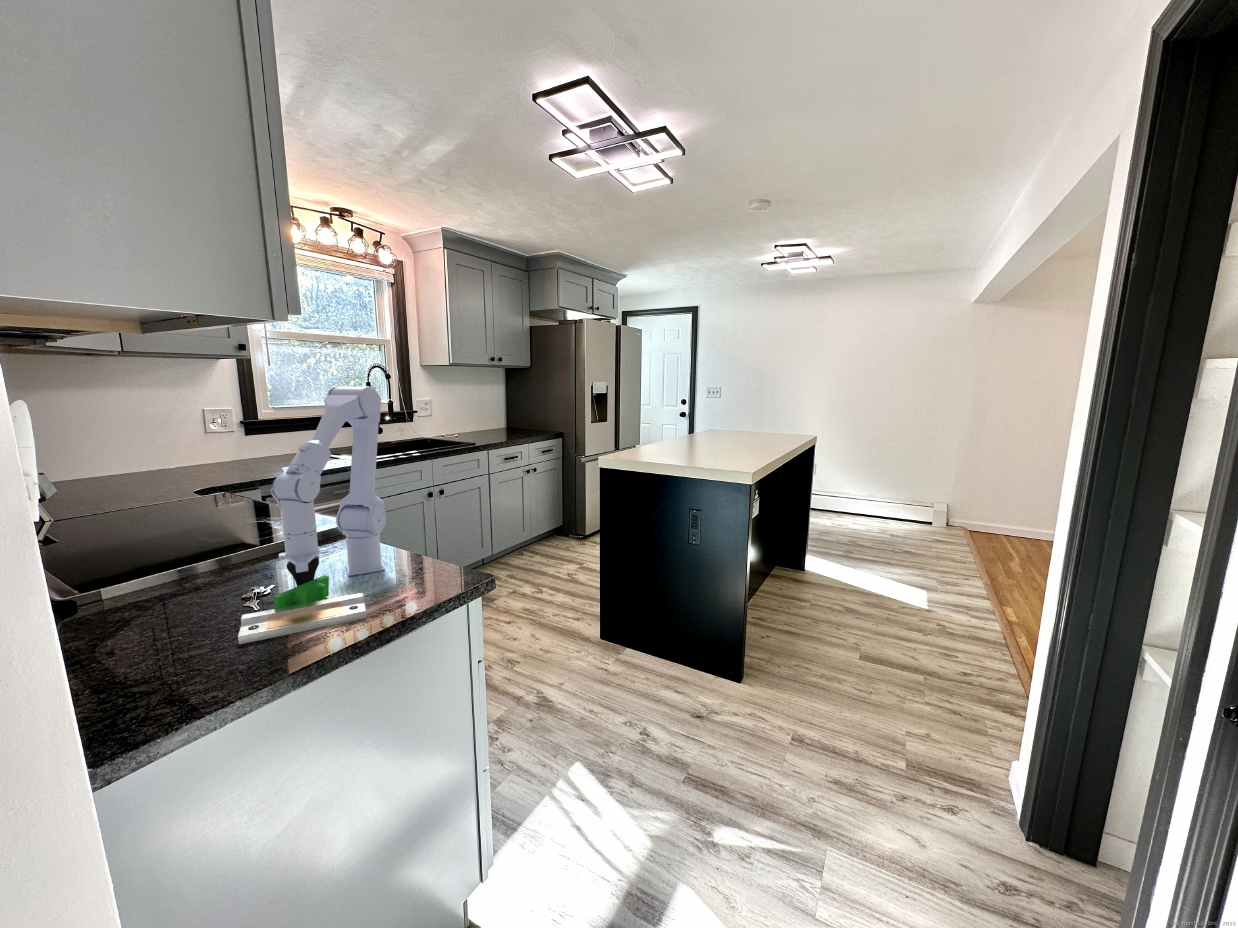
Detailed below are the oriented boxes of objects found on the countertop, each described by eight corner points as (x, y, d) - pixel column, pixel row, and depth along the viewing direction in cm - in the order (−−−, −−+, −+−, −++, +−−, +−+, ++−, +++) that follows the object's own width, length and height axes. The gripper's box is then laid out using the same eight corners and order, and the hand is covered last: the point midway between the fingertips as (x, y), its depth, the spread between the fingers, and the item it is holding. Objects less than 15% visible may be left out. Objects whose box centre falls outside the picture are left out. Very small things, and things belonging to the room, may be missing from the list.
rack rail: (243, 627, 94) (242, 614, 93) (363, 603, 104) (362, 592, 103) (239, 644, 88) (237, 631, 87) (366, 617, 98) (365, 605, 97)
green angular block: (289, 623, 96) (288, 601, 95) (274, 617, 97) (274, 596, 96) (338, 598, 106) (338, 578, 105) (324, 594, 107) (324, 574, 106)
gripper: (278, 524, 107) (285, 585, 109) (273, 544, 94) (281, 611, 97) (317, 520, 110) (323, 578, 112) (317, 538, 98) (323, 603, 100)
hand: (306, 593), depth 105 cm, fingers closed
